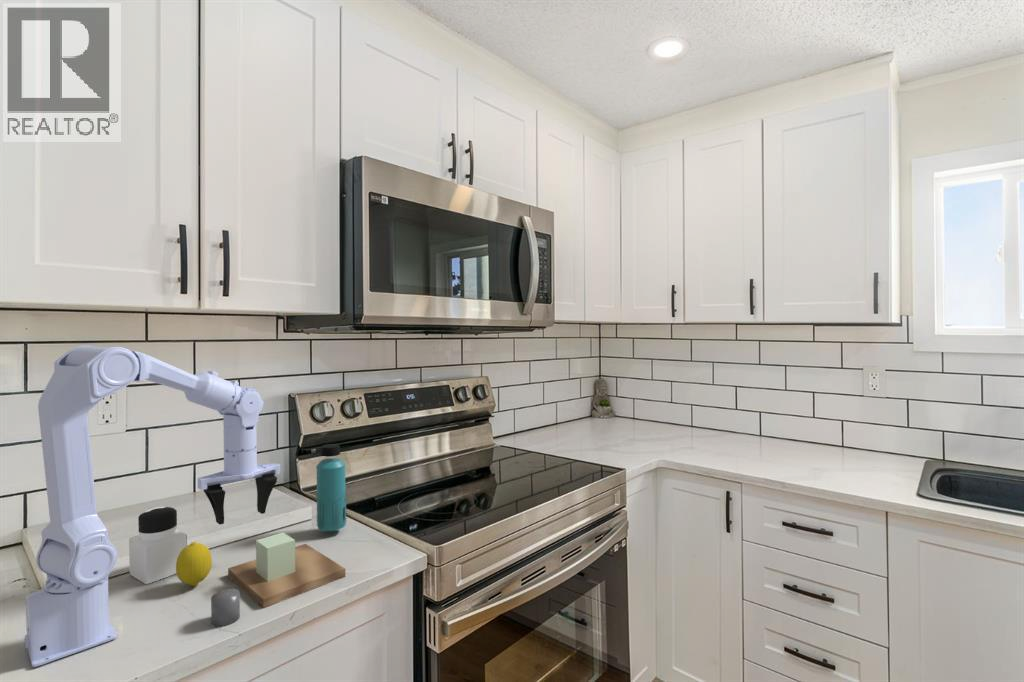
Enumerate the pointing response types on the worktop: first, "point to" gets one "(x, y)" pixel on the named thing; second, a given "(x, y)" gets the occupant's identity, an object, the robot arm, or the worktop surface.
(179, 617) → the worktop surface
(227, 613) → the charcoal canister
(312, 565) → the walnut board
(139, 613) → the worktop surface
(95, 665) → the worktop surface
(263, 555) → the sage block
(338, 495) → the beverage bottle
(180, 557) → the lemon
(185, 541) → the medicine bottle
